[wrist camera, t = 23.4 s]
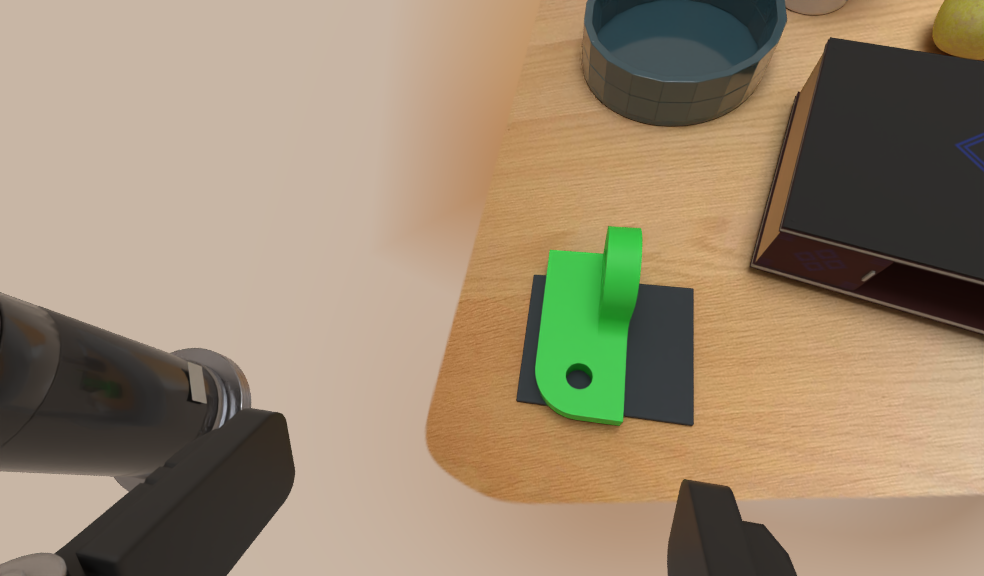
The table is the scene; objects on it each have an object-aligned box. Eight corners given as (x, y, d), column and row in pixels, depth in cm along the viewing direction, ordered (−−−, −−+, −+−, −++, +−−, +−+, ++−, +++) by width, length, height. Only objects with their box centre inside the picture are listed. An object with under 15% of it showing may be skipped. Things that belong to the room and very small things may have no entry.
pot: (575, 124, 44) (576, 80, 39) (589, 2, 50) (592, -48, 45) (768, 129, 41) (794, 83, 36) (758, -2, 47) (779, -55, 42)
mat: (516, 401, 34) (516, 400, 34) (534, 276, 38) (534, 274, 38) (691, 426, 32) (693, 425, 32) (692, 291, 36) (693, 288, 35)
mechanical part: (550, 261, 38) (547, 206, 31) (627, 267, 37) (643, 211, 29) (532, 413, 33) (523, 390, 26) (619, 425, 32) (635, 405, 25)
